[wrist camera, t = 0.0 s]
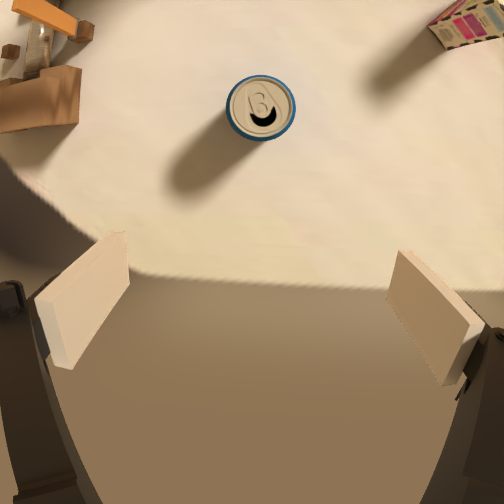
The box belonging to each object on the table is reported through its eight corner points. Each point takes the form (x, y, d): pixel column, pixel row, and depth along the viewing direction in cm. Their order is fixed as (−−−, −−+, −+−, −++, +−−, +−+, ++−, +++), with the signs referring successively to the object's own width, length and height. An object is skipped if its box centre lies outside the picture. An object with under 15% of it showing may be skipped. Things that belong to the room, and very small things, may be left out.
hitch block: (13, 47, 32) (-22, 41, 24) (94, 25, 32) (62, 9, 24) (7, 132, 37) (-30, 139, 29) (86, 122, 38) (50, 124, 29)
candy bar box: (447, 53, 33) (520, 35, 18) (425, 26, 32) (493, -4, 17) (480, 21, 30) (547, 3, 15) (460, -3, 29) (524, -31, 14)
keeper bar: (16, -12, 15) (23, -15, 16) (73, 20, 29) (80, 19, 29) (9, 13, 16) (17, 10, 17) (70, 39, 30) (77, 38, 30)
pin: (36, -7, 28) (23, -13, 25) (82, -21, 29) (70, -30, 25) (21, 93, 35) (5, 93, 31) (65, 84, 35) (50, 82, 32)
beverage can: (242, 144, 39) (237, 150, 28) (226, 97, 37) (215, 84, 26) (291, 130, 39) (306, 130, 27) (276, 82, 36) (285, 64, 25)
